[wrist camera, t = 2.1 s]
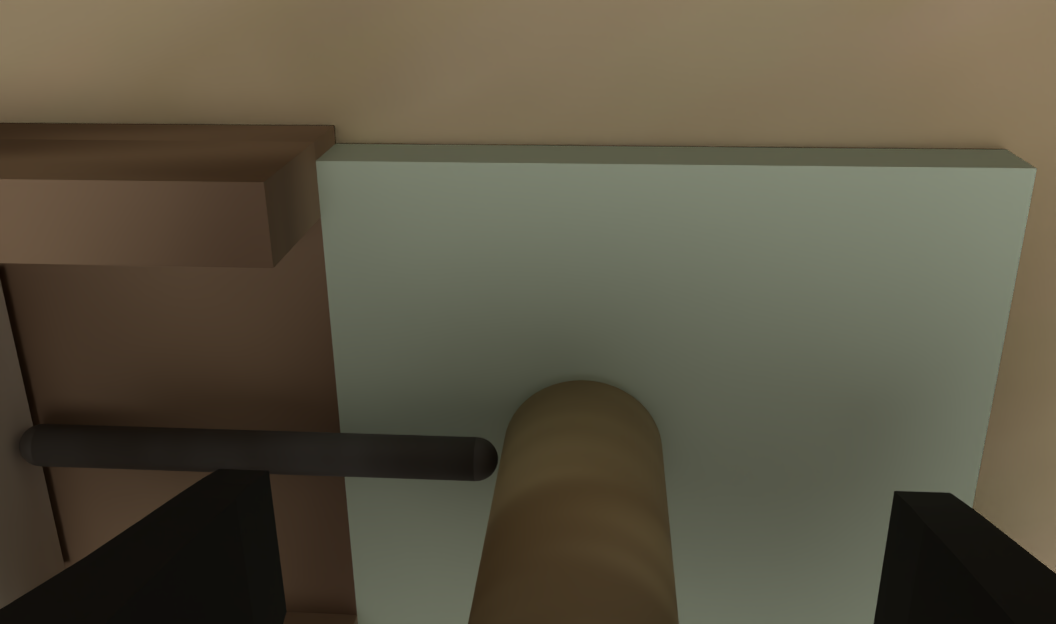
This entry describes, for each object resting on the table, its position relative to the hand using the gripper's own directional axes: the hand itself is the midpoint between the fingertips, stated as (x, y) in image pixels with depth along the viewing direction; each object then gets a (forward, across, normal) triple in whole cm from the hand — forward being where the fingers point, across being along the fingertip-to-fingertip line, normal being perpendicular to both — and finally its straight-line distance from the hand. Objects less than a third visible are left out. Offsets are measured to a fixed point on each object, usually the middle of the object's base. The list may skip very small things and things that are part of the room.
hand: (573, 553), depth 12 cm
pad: (+4, -1, 0) cm, 4 cm away
